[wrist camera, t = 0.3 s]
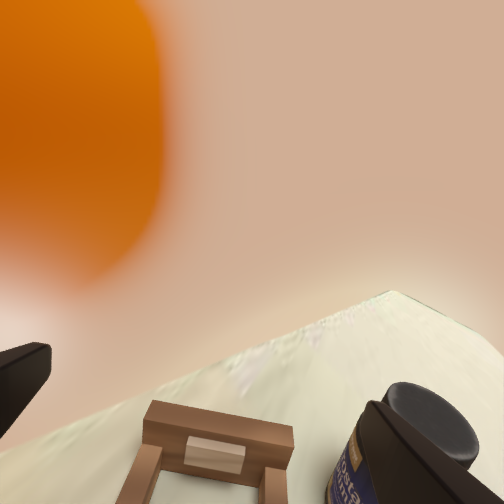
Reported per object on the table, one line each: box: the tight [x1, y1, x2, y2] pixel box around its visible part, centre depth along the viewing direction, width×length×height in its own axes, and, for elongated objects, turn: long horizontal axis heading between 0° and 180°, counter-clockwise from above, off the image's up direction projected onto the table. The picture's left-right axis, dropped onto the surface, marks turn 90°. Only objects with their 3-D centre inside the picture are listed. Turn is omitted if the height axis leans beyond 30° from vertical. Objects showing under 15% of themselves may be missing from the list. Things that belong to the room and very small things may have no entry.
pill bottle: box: [326, 382, 479, 504], centre depth 17 cm, size 6×6×11 cm
